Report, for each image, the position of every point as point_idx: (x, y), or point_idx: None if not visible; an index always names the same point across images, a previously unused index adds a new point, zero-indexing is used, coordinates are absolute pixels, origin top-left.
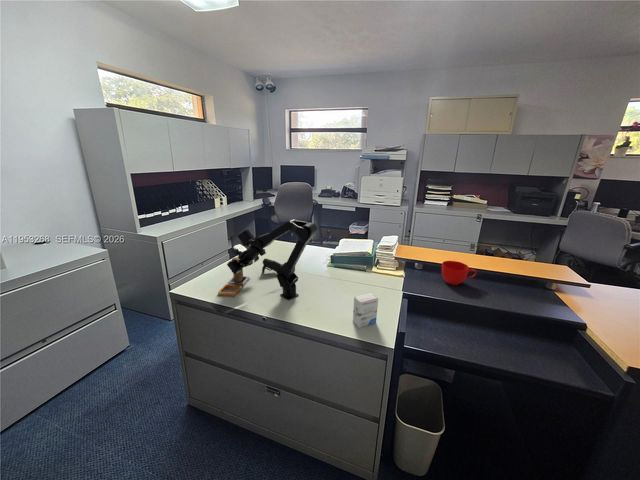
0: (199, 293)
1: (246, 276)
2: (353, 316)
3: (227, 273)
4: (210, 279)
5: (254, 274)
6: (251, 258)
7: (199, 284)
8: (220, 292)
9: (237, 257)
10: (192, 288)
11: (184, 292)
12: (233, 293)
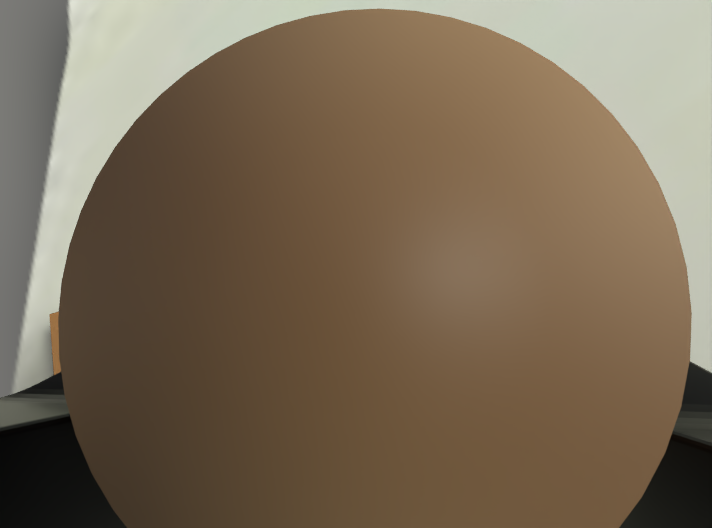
0: (106, 125)
1: None
2: None
3: (538, 42)
4: (349, 7)
5: (699, 342)
6: None
7: (234, 5)
8: (52, 343)
9: (570, 153)
10: (159, 14)
11: (90, 16)
12: None
